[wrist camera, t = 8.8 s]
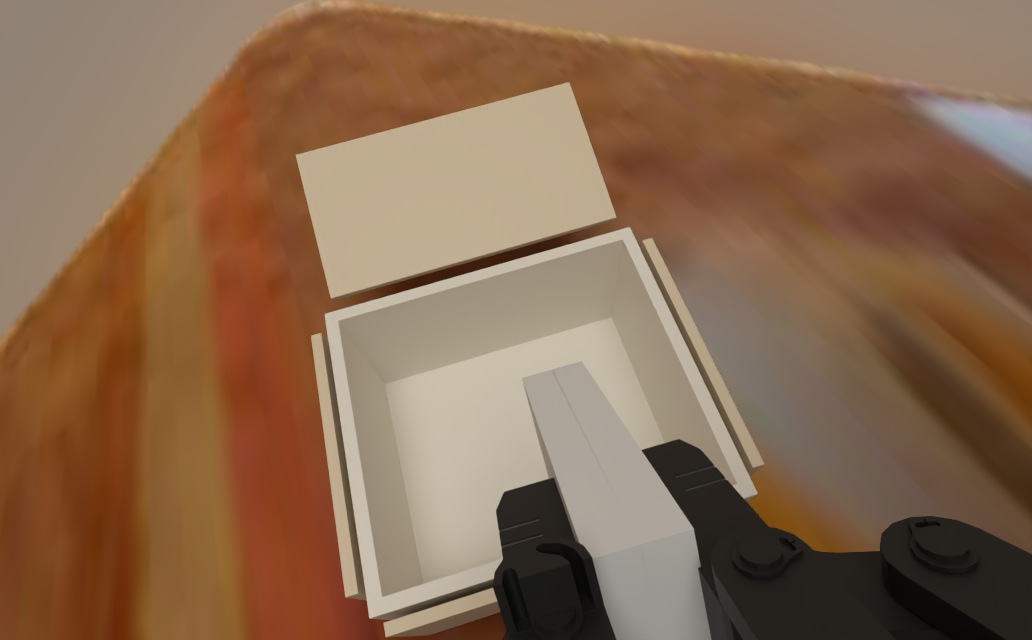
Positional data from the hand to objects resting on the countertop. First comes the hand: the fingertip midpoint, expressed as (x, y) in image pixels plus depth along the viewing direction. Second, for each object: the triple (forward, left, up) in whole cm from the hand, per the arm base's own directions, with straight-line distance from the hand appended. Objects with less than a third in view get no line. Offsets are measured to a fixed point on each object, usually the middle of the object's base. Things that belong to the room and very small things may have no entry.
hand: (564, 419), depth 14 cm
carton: (+1, -5, -20) cm, 21 cm away
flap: (+1, -13, -11) cm, 17 cm away
